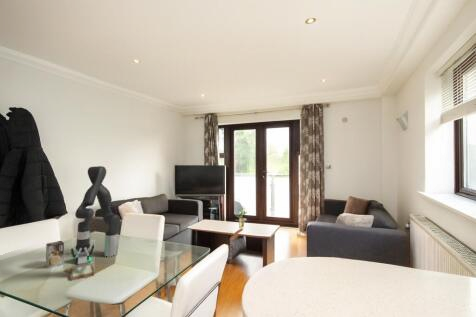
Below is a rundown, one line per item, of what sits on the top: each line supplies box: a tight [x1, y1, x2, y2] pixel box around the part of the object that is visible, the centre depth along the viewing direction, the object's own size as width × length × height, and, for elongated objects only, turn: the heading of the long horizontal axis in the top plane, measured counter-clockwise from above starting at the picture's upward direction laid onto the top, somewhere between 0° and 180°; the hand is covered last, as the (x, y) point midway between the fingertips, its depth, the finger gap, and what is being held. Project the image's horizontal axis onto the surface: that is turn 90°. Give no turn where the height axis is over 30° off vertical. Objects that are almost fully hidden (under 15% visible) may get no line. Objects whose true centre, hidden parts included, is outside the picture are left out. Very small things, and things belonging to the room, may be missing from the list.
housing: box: [77, 251, 88, 267], centre depth 165 cm, size 5×8×6 cm, turn 36°
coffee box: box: [45, 240, 65, 269], centre depth 173 cm, size 9×6×16 cm
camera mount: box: [73, 249, 92, 263], centre depth 182 cm, size 12×8×10 cm, turn 54°
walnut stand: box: [69, 264, 95, 282], centre depth 165 cm, size 13×13×2 cm
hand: (82, 261), depth 165 cm, fingers closed on housing, 5 cm apart
